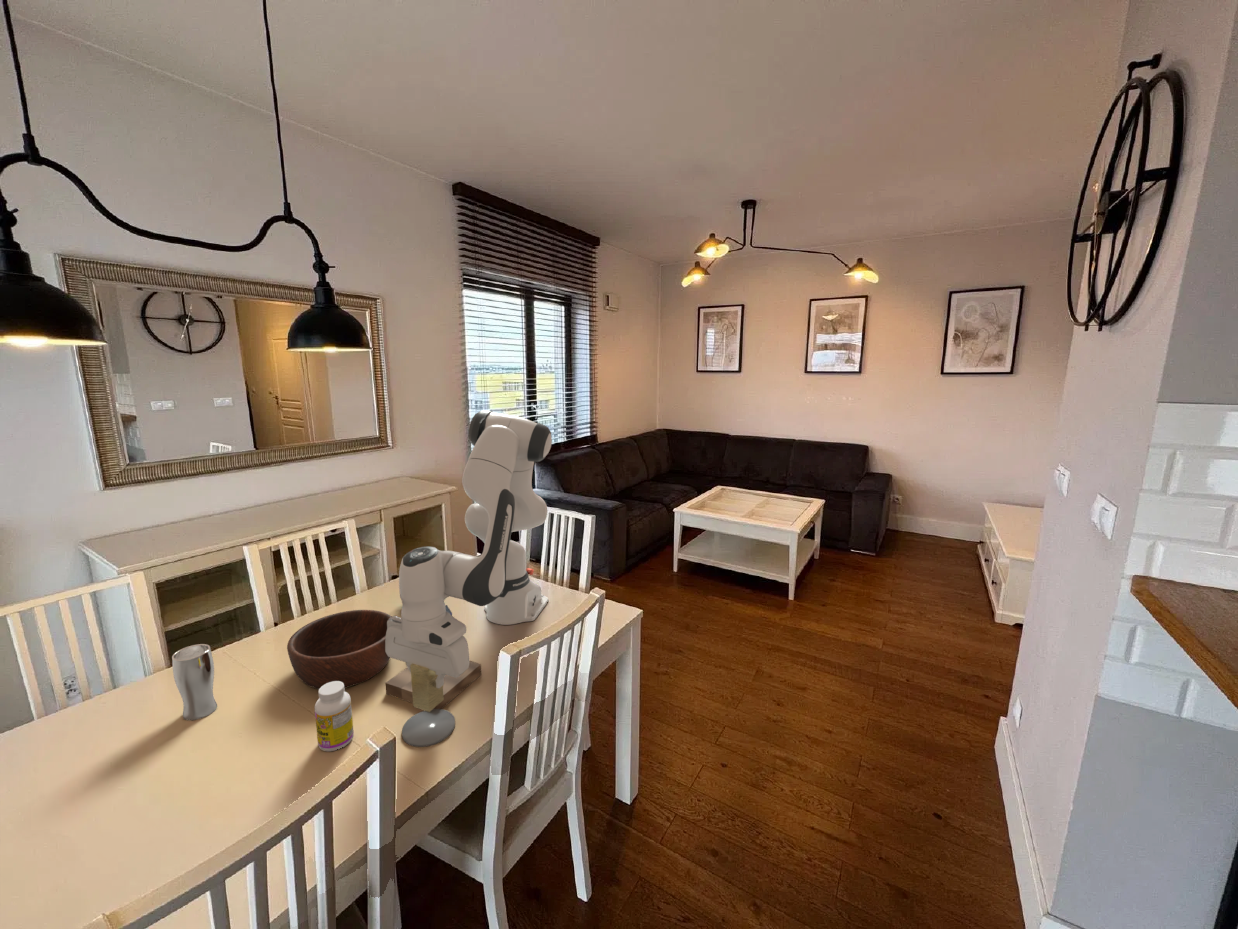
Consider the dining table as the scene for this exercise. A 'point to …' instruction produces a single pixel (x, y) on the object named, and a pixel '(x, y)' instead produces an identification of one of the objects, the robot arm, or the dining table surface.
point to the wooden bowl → (340, 648)
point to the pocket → (451, 688)
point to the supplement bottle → (333, 717)
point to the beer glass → (195, 680)
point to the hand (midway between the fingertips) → (427, 682)
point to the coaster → (428, 728)
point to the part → (425, 688)
